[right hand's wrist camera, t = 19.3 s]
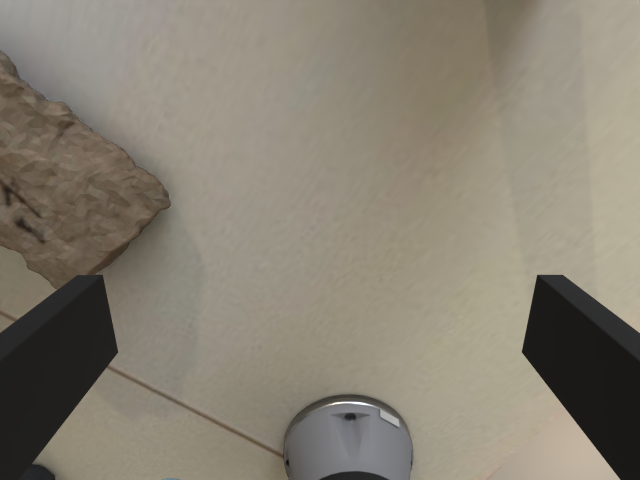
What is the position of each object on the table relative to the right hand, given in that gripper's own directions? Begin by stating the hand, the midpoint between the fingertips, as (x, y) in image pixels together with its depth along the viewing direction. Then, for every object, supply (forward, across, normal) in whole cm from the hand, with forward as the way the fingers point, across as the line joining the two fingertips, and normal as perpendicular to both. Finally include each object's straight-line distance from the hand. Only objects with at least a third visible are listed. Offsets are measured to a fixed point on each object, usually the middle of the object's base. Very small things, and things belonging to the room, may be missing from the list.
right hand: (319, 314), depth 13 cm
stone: (+27, +25, 0) cm, 37 cm away
